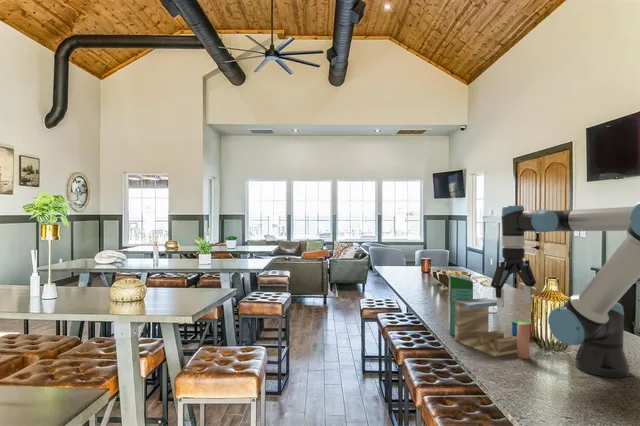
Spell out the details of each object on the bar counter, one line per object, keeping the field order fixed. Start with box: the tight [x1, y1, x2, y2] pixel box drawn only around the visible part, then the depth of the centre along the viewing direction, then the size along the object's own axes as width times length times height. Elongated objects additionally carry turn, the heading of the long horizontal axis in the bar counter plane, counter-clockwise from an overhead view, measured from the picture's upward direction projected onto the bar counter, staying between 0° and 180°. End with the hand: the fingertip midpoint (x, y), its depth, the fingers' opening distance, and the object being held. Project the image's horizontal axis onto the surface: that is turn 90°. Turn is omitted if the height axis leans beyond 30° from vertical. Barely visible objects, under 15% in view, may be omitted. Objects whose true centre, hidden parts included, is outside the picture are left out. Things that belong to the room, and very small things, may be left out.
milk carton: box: [447, 272, 474, 336], centre depth 184 cm, size 9×9×25 cm
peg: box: [516, 322, 531, 360], centre depth 154 cm, size 4×4×12 cm
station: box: [454, 297, 517, 357], centre depth 167 cm, size 20×16×16 cm
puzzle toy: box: [511, 319, 532, 338], centre depth 180 cm, size 6×6×6 cm
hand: (514, 305), depth 158 cm, fingers open, 13 cm apart
